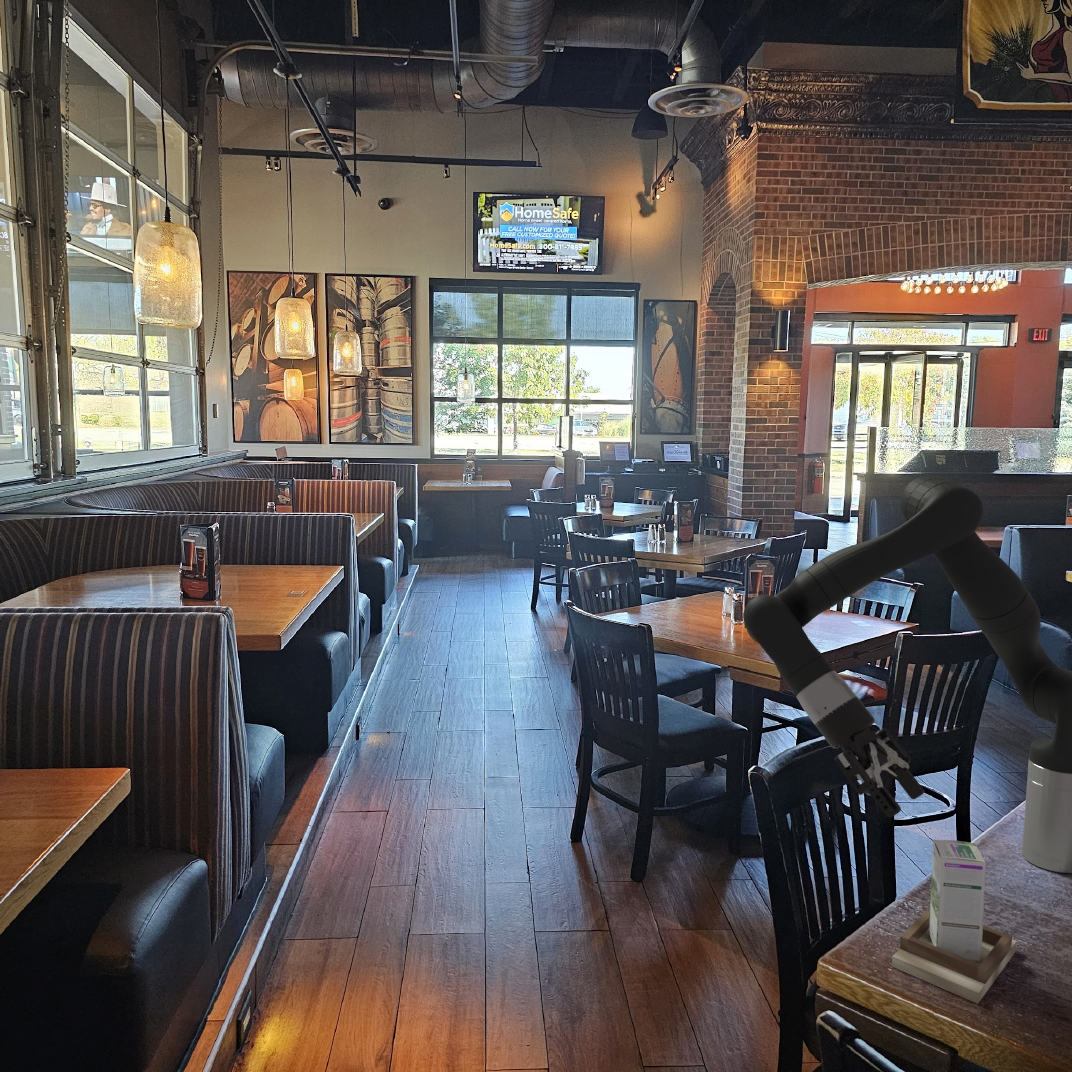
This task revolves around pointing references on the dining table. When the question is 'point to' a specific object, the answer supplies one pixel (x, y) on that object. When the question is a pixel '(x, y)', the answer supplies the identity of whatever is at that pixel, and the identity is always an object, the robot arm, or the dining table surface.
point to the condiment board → (953, 960)
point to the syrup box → (957, 898)
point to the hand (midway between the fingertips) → (907, 805)
